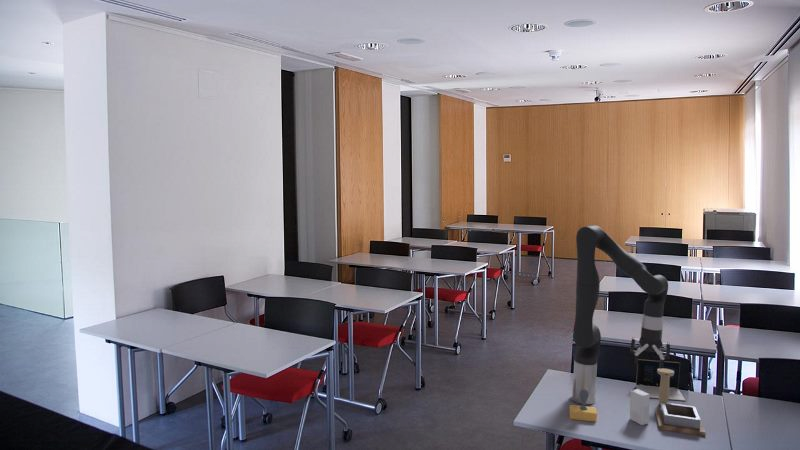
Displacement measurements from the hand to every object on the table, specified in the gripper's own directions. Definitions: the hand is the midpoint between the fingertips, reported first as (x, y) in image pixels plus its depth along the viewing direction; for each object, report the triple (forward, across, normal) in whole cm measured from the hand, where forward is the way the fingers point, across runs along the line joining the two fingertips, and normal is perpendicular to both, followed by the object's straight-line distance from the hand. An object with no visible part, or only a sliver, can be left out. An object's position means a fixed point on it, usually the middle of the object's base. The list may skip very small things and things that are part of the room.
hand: (648, 366), depth 226 cm
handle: (+22, +7, +19) cm, 30 cm away
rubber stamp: (+23, -22, -8) cm, 33 cm away
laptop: (+23, +6, +31) cm, 39 cm away
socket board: (+22, +13, +2) cm, 26 cm away
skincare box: (+23, -2, -2) cm, 23 cm away
